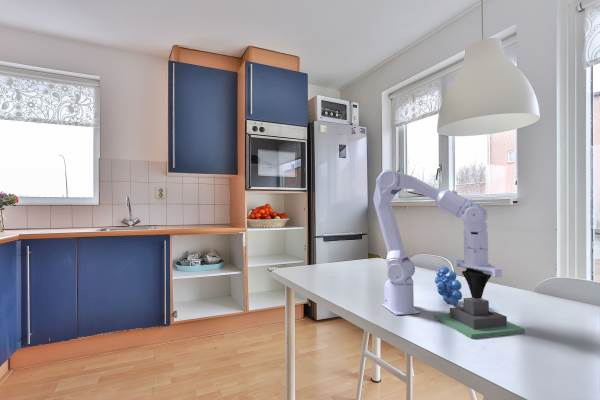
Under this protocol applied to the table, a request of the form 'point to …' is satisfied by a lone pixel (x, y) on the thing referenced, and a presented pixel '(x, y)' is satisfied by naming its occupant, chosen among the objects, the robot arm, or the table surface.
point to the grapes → (448, 285)
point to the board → (479, 331)
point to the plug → (476, 306)
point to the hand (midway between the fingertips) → (476, 297)
